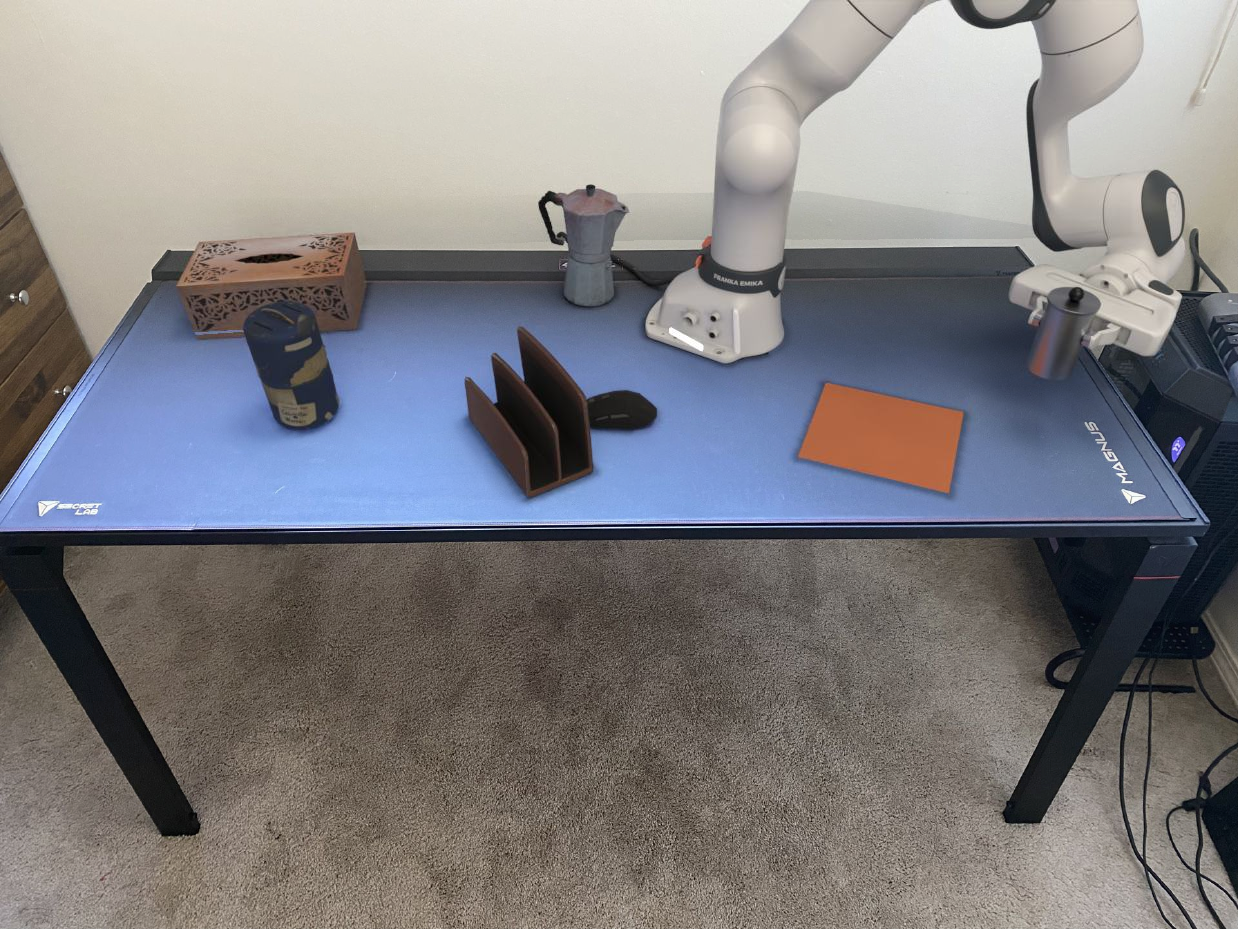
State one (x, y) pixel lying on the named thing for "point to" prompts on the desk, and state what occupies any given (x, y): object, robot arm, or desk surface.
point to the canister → (292, 364)
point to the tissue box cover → (273, 281)
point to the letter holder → (534, 419)
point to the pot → (1062, 332)
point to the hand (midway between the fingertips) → (1060, 331)
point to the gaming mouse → (620, 410)
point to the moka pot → (587, 241)
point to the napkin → (884, 436)
